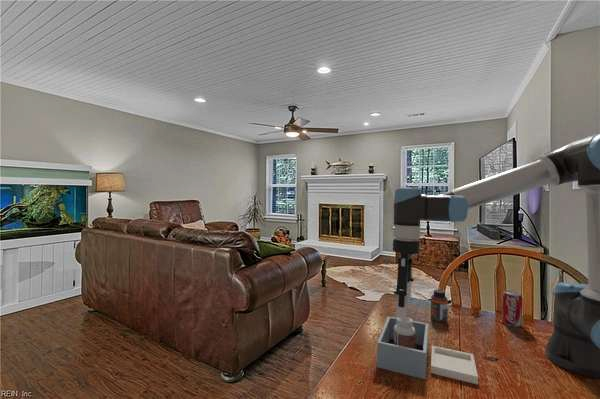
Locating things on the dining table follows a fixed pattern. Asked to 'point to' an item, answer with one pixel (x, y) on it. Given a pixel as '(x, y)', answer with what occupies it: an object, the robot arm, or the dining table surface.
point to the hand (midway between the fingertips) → (403, 309)
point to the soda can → (512, 308)
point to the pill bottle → (404, 333)
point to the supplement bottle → (439, 306)
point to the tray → (454, 364)
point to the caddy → (403, 351)
